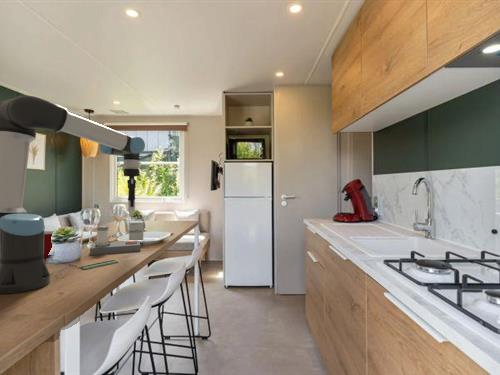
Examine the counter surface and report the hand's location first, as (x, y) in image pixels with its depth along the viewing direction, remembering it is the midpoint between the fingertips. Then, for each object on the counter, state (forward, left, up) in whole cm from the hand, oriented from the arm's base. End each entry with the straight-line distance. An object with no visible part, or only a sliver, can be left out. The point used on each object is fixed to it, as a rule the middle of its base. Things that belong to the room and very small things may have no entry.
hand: (131, 212), depth 149 cm
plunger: (0, 0, -18) cm, 18 cm away
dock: (-6, +4, -20) cm, 21 cm away
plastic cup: (-31, +20, -20) cm, 42 cm away
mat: (-23, -8, -20) cm, 31 cm away
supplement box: (+13, +16, -20) cm, 28 cm away
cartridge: (-11, +6, -19) cm, 23 cm away
